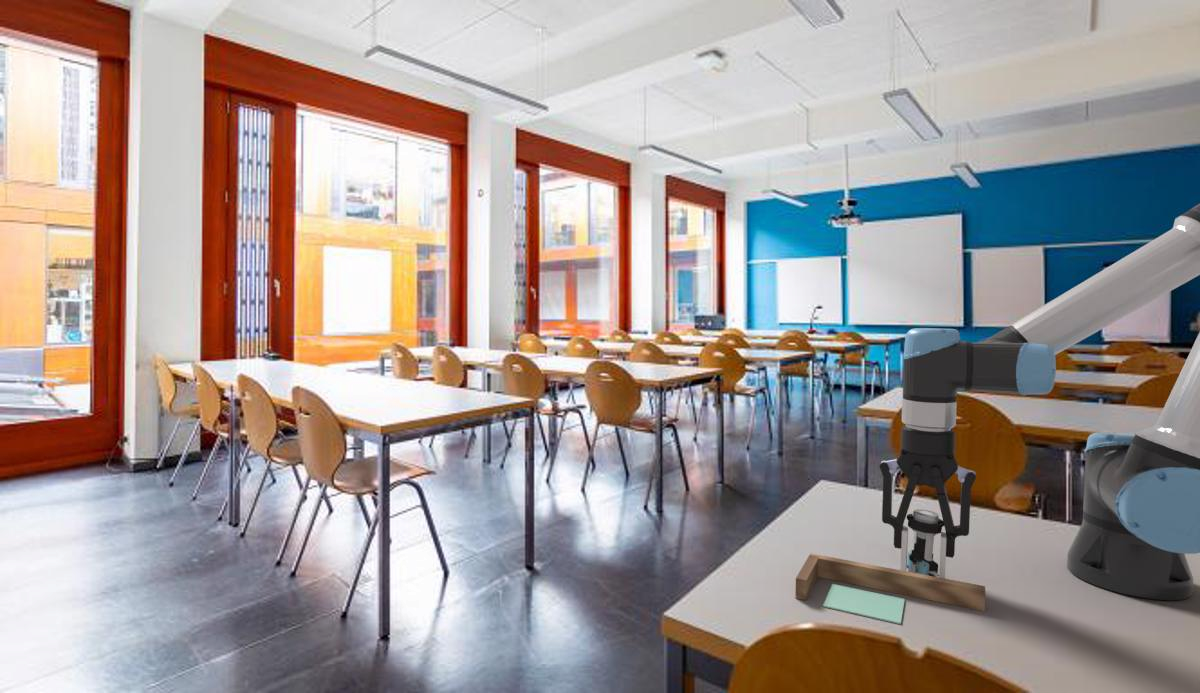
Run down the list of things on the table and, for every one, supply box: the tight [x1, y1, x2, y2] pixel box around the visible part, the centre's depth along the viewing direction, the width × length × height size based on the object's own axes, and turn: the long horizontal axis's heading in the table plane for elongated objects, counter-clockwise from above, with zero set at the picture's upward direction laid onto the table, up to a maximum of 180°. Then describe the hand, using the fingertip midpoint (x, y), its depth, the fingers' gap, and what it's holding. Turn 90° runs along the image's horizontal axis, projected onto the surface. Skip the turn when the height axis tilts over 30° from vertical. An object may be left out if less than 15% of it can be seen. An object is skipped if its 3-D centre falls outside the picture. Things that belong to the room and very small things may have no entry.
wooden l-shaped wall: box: [794, 553, 986, 612], centre depth 90 cm, size 24×11×3 cm, turn 61°
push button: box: [906, 508, 944, 577], centre depth 98 cm, size 7×5×10 cm
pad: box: [822, 583, 906, 625], centre depth 90 cm, size 10×8×1 cm
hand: (922, 571), depth 99 cm, fingers closed on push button, 5 cm apart
